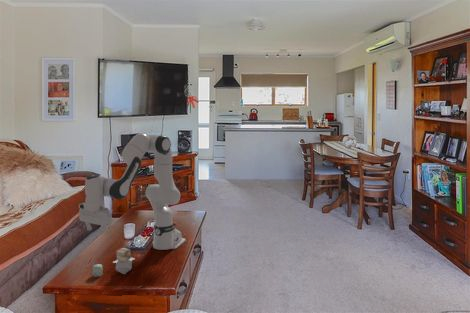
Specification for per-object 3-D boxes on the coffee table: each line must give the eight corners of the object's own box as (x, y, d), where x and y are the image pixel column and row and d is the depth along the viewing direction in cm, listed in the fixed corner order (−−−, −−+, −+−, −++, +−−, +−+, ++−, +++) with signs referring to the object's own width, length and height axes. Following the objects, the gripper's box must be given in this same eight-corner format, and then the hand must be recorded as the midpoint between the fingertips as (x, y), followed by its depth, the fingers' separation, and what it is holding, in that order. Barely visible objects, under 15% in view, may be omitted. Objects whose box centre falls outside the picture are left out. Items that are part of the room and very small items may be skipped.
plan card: (125, 256, 228) (125, 255, 228) (135, 259, 225) (135, 258, 225) (112, 262, 220) (112, 261, 220) (122, 265, 216) (122, 264, 216)
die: (135, 274, 207) (135, 256, 211) (124, 272, 200) (124, 253, 204) (123, 277, 210) (123, 259, 214) (112, 275, 202) (112, 257, 207)
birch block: (123, 256, 209) (123, 247, 209) (130, 258, 207) (130, 249, 206) (116, 259, 205) (116, 250, 204) (124, 261, 203) (123, 252, 202)
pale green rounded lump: (96, 272, 207) (95, 263, 207) (104, 273, 206) (104, 264, 206) (91, 276, 203) (90, 267, 202) (99, 277, 202) (98, 268, 201)
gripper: (114, 206, 197) (115, 233, 198) (86, 201, 206) (87, 227, 208) (104, 209, 191) (105, 236, 193) (76, 204, 201) (77, 230, 203)
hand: (96, 231), depth 201 cm, fingers open, 8 cm apart
